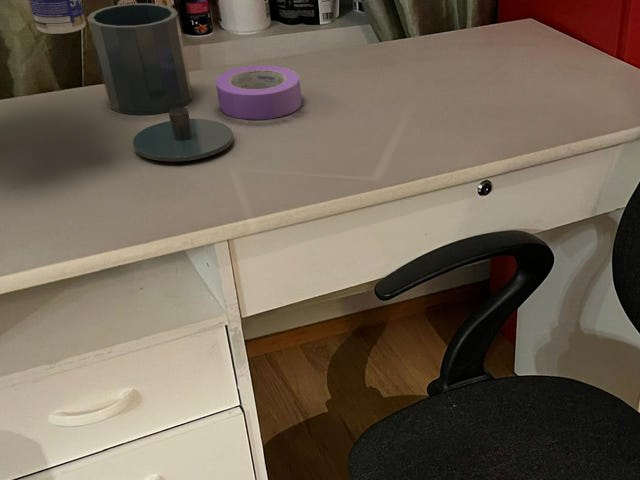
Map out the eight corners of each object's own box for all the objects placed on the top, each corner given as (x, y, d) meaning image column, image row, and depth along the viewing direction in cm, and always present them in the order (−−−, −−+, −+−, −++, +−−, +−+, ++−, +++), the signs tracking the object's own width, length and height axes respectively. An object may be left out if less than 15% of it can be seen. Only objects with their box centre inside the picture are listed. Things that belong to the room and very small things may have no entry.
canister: (100, 116, 121) (79, 27, 113) (117, 87, 130) (97, 3, 123) (186, 113, 122) (170, 26, 115) (196, 85, 131) (182, 2, 124)
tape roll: (288, 122, 120) (285, 95, 118) (207, 117, 121) (203, 90, 119) (311, 93, 130) (308, 67, 127) (235, 88, 131) (232, 62, 128)
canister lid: (126, 167, 108) (117, 131, 105) (143, 128, 118) (136, 94, 115) (229, 164, 109) (223, 128, 106) (238, 125, 119) (233, 92, 116)
